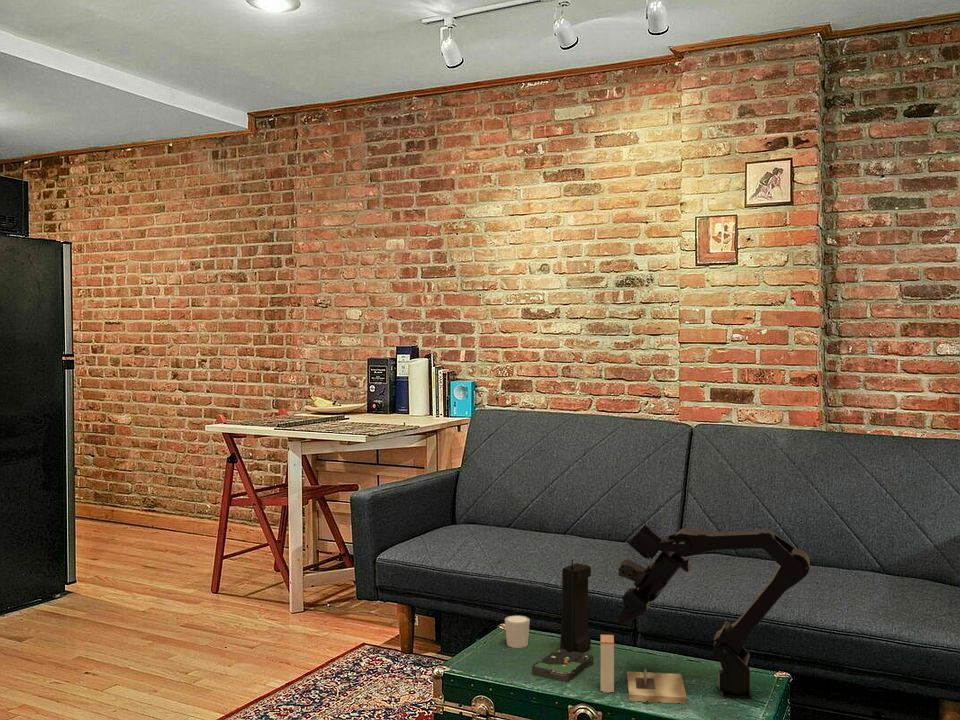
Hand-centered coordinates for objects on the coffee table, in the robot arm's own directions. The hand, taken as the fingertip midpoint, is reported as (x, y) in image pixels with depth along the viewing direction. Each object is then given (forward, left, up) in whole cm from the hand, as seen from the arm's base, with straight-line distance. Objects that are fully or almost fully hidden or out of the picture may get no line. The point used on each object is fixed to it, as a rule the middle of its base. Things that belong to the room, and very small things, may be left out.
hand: (623, 617), depth 220 cm
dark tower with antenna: (+12, -17, -15) cm, 25 cm away
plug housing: (+4, +8, -15) cm, 17 cm away
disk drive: (+15, -3, -15) cm, 22 cm away
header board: (-7, +8, -15) cm, 18 cm away
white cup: (+28, -19, -15) cm, 37 cm away
